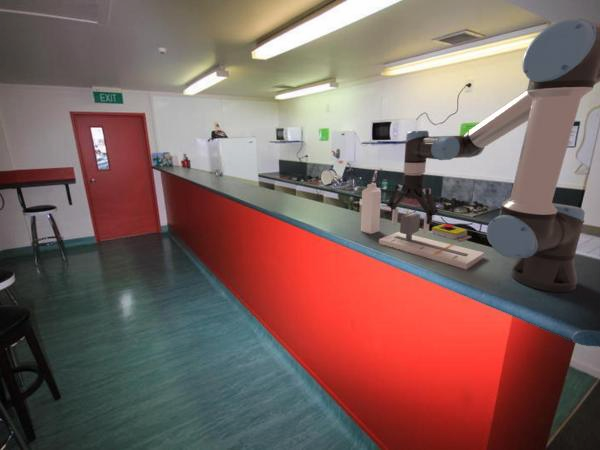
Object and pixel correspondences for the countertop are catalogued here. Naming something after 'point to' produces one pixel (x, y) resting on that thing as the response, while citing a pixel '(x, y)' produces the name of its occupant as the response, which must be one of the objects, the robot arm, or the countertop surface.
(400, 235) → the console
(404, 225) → the fader
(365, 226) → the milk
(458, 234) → the emergency button
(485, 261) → the countertop surface
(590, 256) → the countertop surface
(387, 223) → the countertop surface
